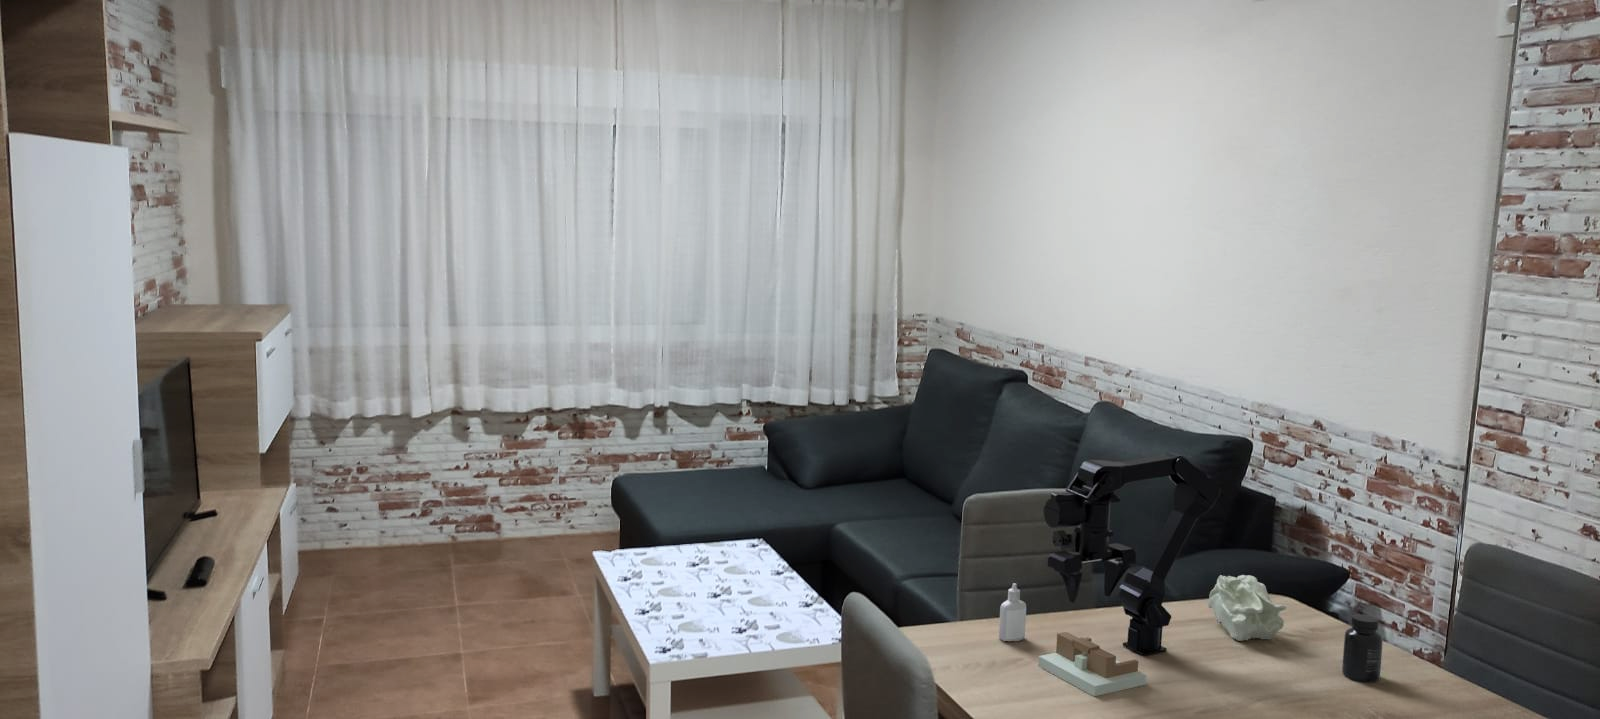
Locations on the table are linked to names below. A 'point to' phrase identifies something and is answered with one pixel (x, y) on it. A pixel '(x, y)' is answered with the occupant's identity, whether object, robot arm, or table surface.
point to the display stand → (1088, 675)
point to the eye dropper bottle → (1012, 617)
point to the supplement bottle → (1362, 649)
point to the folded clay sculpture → (1245, 608)
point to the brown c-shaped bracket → (1093, 656)
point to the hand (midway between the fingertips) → (1089, 599)
